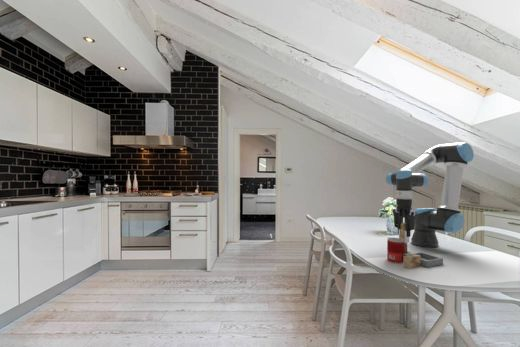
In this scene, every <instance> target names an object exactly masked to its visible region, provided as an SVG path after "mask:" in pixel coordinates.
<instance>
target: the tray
mask: <svg viewBox="0 0 520 347" xmlns="http://www.w3.org/2000/svg"><path fill="white" fill-rule="evenodd" d="M413 254H416V255H419V256H421V266H422V267H424V268H432V267H437V266H442V265H444V258H442V257H439V256H436V255H432V254H429V253H425V252H421V251H419V252H413V253H412V254H405V256H407V255H413ZM421 266H420V267H421Z"/></svg>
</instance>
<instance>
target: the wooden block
mask: <svg viewBox="0 0 520 347" xmlns="http://www.w3.org/2000/svg"><path fill="white" fill-rule="evenodd" d="M402 264H403V267H404V268H407V269H412V268H419V267H421V256H419V255H416V254H413V255H407V256H403V263H402Z"/></svg>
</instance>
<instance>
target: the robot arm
mask: <svg viewBox="0 0 520 347" xmlns="http://www.w3.org/2000/svg"><path fill="white" fill-rule="evenodd" d="M473 159H474V150H473V148H472V145H471V144H469V143H468V142H466V141H465V142H459V141H458V142H453V143H452V142H451V143H441V144H437V145H433V147H430V148H429V149H427V150H426V151H424V152H423V153H421V155H420V156H419V157H418V158H416V159H415V160H413V161H411V162H410V163H408V164H407V165H405V166H404V167H402V168H401V169H397V170H396V172H391V173H390V172H389V173H388V174H386V176H385V182H386V184H387V185H388V186H393V187H395V188H396V190H395V192H396V195H395V197H396V199H395V200H396V201H395V202H396V203H395V204H396V207H395V208H394V209H393V208H392V213H393V214H392V215H393V226H394V227H395V228H396V229H397V235H398V238H400V239H401V223H405V226H406V230H405V243H407V244H408V243H410V244H412V245H415V246H419V247H423V248H424V247H425V248H438V247H439V246H440V245H439V239H438V237H437V235H436V231H440V232H445V233H447V234H448V233H449V234H450V233H451V234H457V233H459V232H460V231H461V230H462V229H463V227H464V225H465V219H464V218H465V217H464V215H463V214H461V210H460V208H459V203H460V198H461V197H460V195H461V189H462V182H463V175H464V169H465V168H466V167H468V164H469V163H470V162H472V161H473ZM437 163H438V164H440V163H443V165H444V166H445V175H444V181H443V187H442V193H441V194H442V195H441V199H440V200H441V201H440V205H439V206H438V207H437V209H436V208H435V207H423V208H422V207H420V208H419V207H418V208H415V209H414V210H413V209H412V205H413V188H417V187H418V188H422V187H425V186H426V185H427V184H428V183H429V178H428V176H427V174H425V173H421V171H423V170H425V169H427V168H428V167H429V166H434V165H436V164H437ZM412 231H413V234H412V233H411V232H412ZM411 234H412V236H411ZM410 237H411V239H410Z"/></svg>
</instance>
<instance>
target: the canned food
mask: <svg viewBox="0 0 520 347" xmlns="http://www.w3.org/2000/svg"><path fill="white" fill-rule="evenodd" d="M386 240H387V245H386V246H387V248H386V249H387V250H386V252H387V254H386V257H387V260H388V261H389V262H390V263H395V262H396V263H397V264H403V256H405V240H403V239H400V238H399V237H388V238H387V239H386ZM396 263H395V264H396Z"/></svg>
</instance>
